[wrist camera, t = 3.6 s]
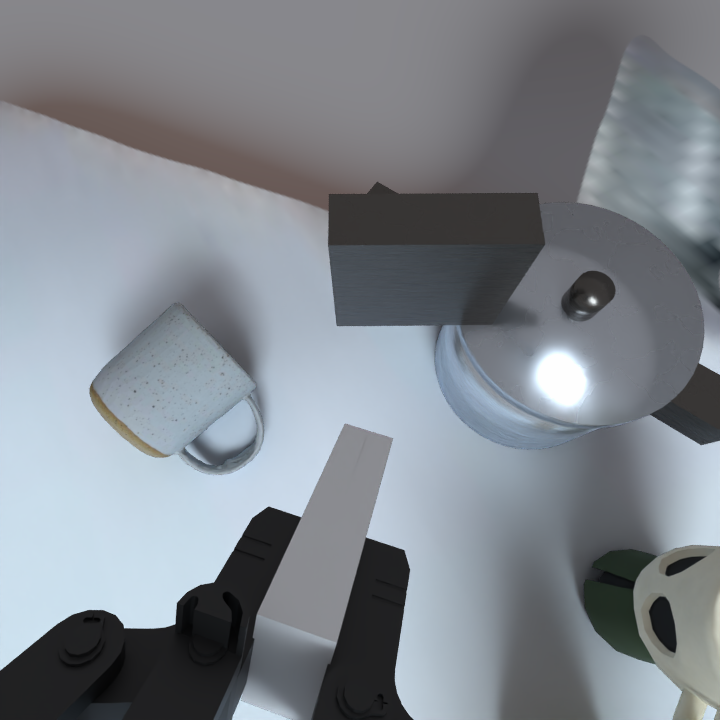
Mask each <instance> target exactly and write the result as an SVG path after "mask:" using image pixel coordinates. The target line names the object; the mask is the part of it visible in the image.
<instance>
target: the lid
mask: <svg viewBox="0 0 720 720" xmlns="http://www.w3.org/2000/svg"><path fill="white" fill-rule="evenodd" d="M328 247H329V257H330V266H331V276H332V285H333V295H334V304H335V314H336V323H337V326H414V325H456V328H457V331H458V335H459V338H460V341H461V344H462V346H463V348H464V350H465V353H466V355H467V357H468V358H469V360H470V361H471V363H472V365H473V366H474V368H475V369H476V371H477V372H478V373H479V374H480V376H481V377H482V378H483V380H484V381H485V382H486V383H487V384H488V385H489V386H490V387H491V388H492V389H493V390H494V391H495V392H496V393H497V394H499V395H500V396H501V397H502V398H504V399H505V400H506V401H508V402H509V403H510V404H512V405H513V406H515V407H517V408H518V409H520V410H522V411H523V412H525V413H527V414H529V415H532V416H534V417H536V418H538V419H541V420H544V421H547V422H550V423H553V424H556V425H561V426H566V427H572V428H583V429H598V428H609V427H614V426H618V425H623V424H626V423H629V422H631V421H634V420H637V419H639V418H642V417H645V416H647V415H650V414H651V413H653V412H655V411H657V410H659V409H660V408H662V407H664V406H665V405H666V404H668V403H669V402H670V401H671V400H673V399H674V398H675V397H676V396H677V395H678V394H679V393H680V392H681V391H682V390H683V389H684V388H685V386H686V385H687V383H688V382H689V380H690V379H691V377H692V376H693V374H694V372H695V370H696V367H697V365H698V363H699V360H700V356H701V352H702V349H703V341H704V318H703V312H702V307H701V303H700V300H699V297H698V294H697V291H696V288H695V286H694V284H693V282H692V280H691V278H690V276H689V274H688V273H687V271H686V270H685V268H684V267H683V265H682V263H681V262H680V261H679V260H678V258H677V257H676V256H675V255H674V254H673V252H672V251H671V250H670V249H669V248H668V247H667V246H666V245H665V244H664V243H663V242H662V241H661V240H660V239H658V238H657V237H656V236H655V235H653V234H652V233H651V232H650V231H648V230H647V229H645V228H644V227H642V226H641V225H639V224H637V223H636V222H634V221H632V220H630V219H628V218H626V217H624V216H622V215H620V214H617V213H615V212H612V211H610V210H607V209H604V208H600V207H596V206H592V205H587V204H580V203H568V202H556V203H544V204H539V200H538V194H537V193H487V194H486V193H485V194H484V193H477V194H475V193H472V194H329V233H328Z"/></svg>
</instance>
